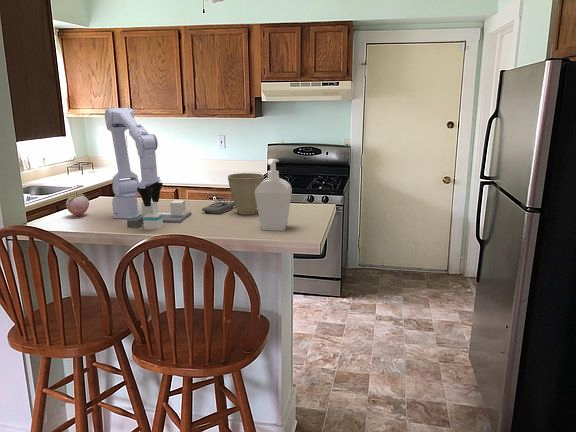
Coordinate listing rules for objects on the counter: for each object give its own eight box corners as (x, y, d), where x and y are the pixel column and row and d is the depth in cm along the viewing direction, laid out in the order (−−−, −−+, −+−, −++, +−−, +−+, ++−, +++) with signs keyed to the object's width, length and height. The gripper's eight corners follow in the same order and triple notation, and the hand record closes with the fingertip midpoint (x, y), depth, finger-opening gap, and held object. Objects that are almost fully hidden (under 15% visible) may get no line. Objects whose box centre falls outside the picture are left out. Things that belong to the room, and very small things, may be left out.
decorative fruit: (76, 213, 206) (73, 190, 203) (93, 214, 204) (91, 191, 202) (62, 218, 197) (59, 194, 194) (80, 219, 195) (77, 195, 193)
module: (143, 229, 179) (142, 216, 178) (149, 225, 184) (148, 213, 183) (158, 229, 179) (157, 216, 177) (163, 225, 183) (162, 213, 182)
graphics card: (215, 198, 217) (238, 199, 213) (216, 206, 218) (239, 207, 214) (195, 206, 202) (219, 208, 198) (195, 215, 203) (220, 216, 199)
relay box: (127, 228, 182) (126, 220, 181) (134, 224, 187) (133, 216, 187) (137, 228, 181) (137, 220, 180) (143, 224, 187) (143, 216, 186)
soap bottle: (254, 231, 173) (252, 160, 167) (260, 224, 183) (258, 157, 176) (288, 232, 171) (287, 160, 165) (292, 225, 181) (291, 157, 174)
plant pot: (248, 218, 192) (247, 179, 188) (222, 214, 200) (220, 176, 197) (271, 211, 203) (271, 174, 199) (245, 207, 212) (244, 171, 208)
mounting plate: (136, 222, 189) (134, 204, 188) (150, 213, 203) (148, 197, 201) (180, 222, 187) (179, 205, 185) (191, 214, 201) (190, 198, 199)
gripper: (151, 170, 168) (154, 208, 172) (166, 165, 182) (168, 200, 186) (132, 170, 169) (135, 208, 172) (148, 165, 183) (151, 199, 186)
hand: (151, 204), depth 179 cm, fingers open, 7 cm apart
